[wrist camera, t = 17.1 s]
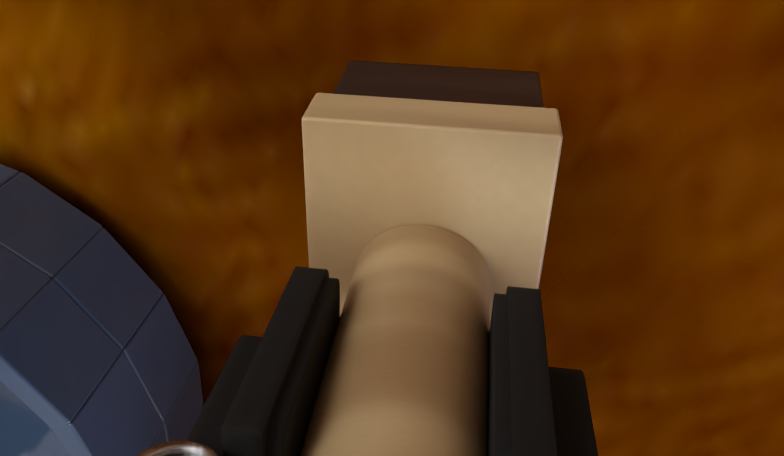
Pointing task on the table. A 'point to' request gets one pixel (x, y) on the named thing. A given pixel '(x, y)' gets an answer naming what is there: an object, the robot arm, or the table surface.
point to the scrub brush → (421, 245)
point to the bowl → (83, 337)
